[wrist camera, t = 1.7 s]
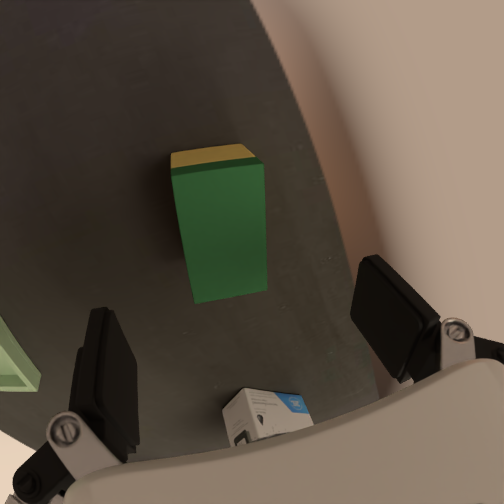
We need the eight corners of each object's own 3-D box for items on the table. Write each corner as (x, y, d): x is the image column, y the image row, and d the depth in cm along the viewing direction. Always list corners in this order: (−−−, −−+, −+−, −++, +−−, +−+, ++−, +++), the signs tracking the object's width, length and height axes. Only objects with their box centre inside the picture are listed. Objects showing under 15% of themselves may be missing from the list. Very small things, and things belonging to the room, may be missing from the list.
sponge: (170, 152, 16) (170, 176, 12) (241, 143, 16) (264, 163, 13) (187, 258, 20) (194, 304, 16) (248, 248, 20) (267, 290, 17)
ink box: (303, 393, 33) (351, 501, 21) (278, 414, 34) (317, 516, 22) (242, 385, 29) (286, 519, 17) (219, 409, 30) (252, 531, 18)
